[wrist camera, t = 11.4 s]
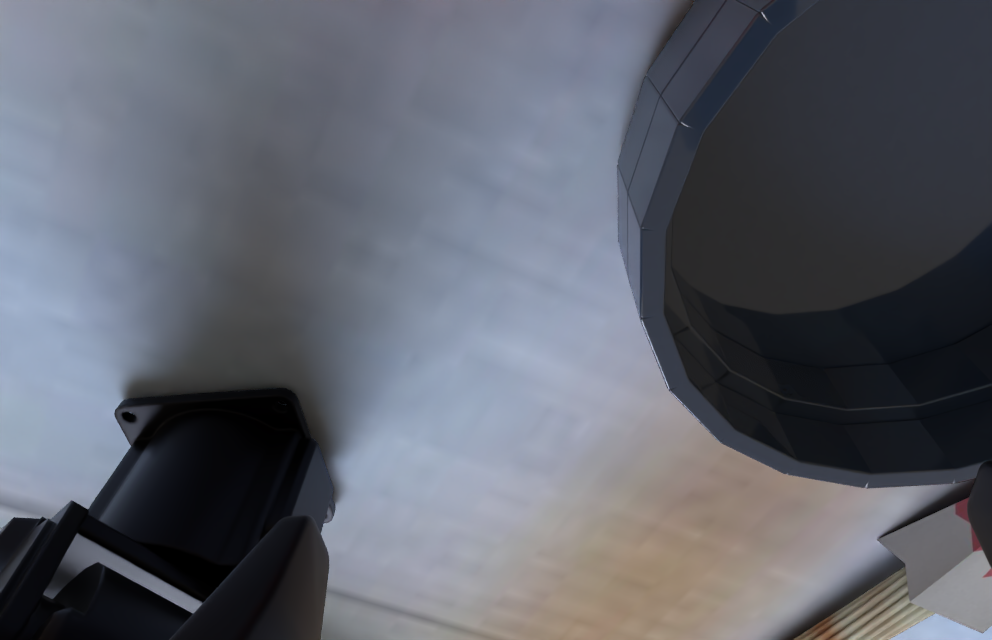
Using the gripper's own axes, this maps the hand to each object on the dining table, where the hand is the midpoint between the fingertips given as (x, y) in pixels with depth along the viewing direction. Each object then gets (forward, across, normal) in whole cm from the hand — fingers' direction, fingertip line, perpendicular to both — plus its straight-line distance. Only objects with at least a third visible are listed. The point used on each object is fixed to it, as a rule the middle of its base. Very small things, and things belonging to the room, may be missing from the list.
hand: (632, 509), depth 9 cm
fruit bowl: (+12, -9, +1) cm, 15 cm away
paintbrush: (+12, -12, +18) cm, 25 cm away
